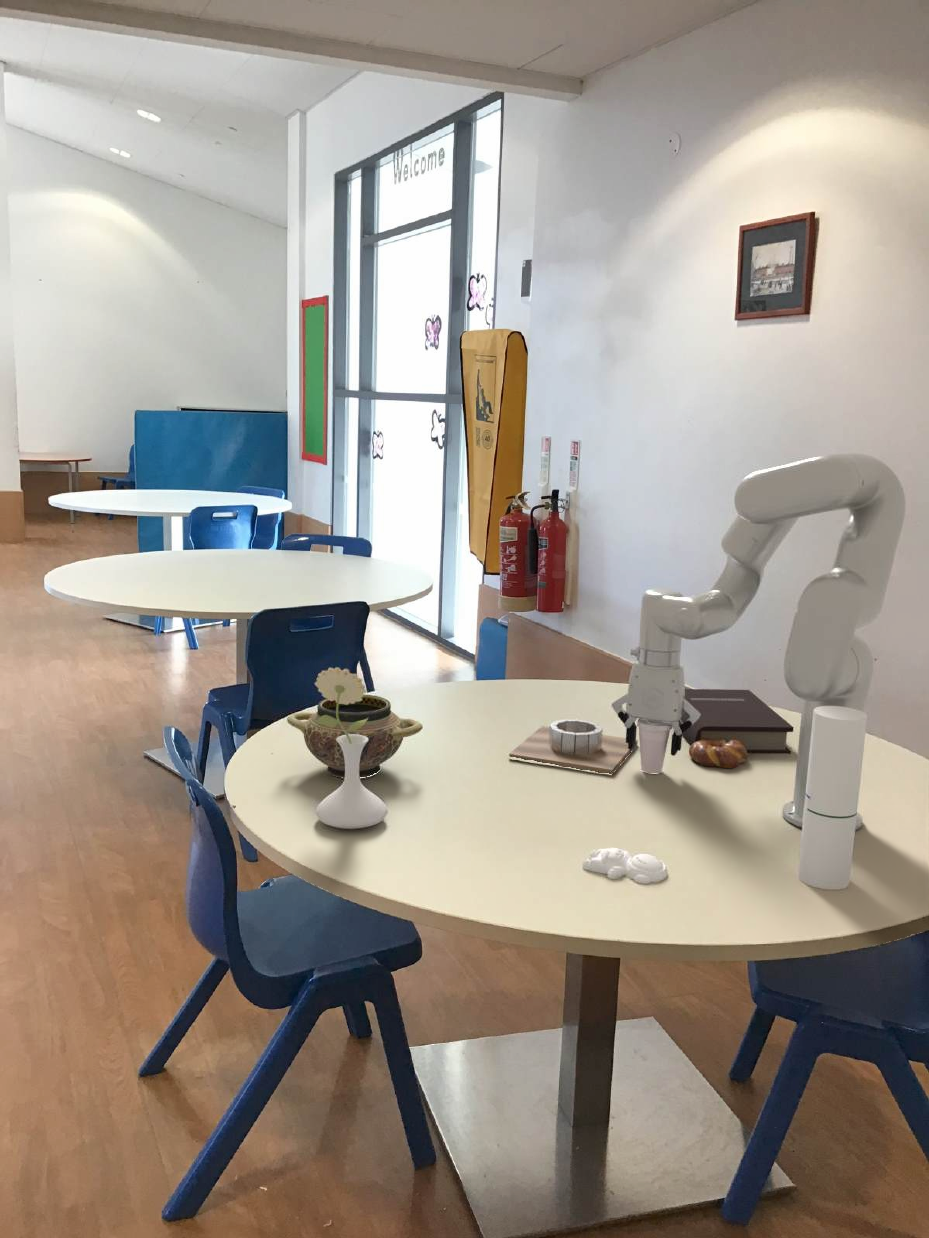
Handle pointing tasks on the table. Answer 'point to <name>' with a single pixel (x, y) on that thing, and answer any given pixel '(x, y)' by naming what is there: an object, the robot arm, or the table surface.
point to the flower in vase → (347, 759)
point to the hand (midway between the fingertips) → (652, 749)
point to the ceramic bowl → (379, 730)
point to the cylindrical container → (831, 796)
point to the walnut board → (599, 762)
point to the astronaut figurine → (626, 865)
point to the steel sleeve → (575, 737)
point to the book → (736, 720)
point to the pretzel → (718, 752)
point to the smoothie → (653, 744)
